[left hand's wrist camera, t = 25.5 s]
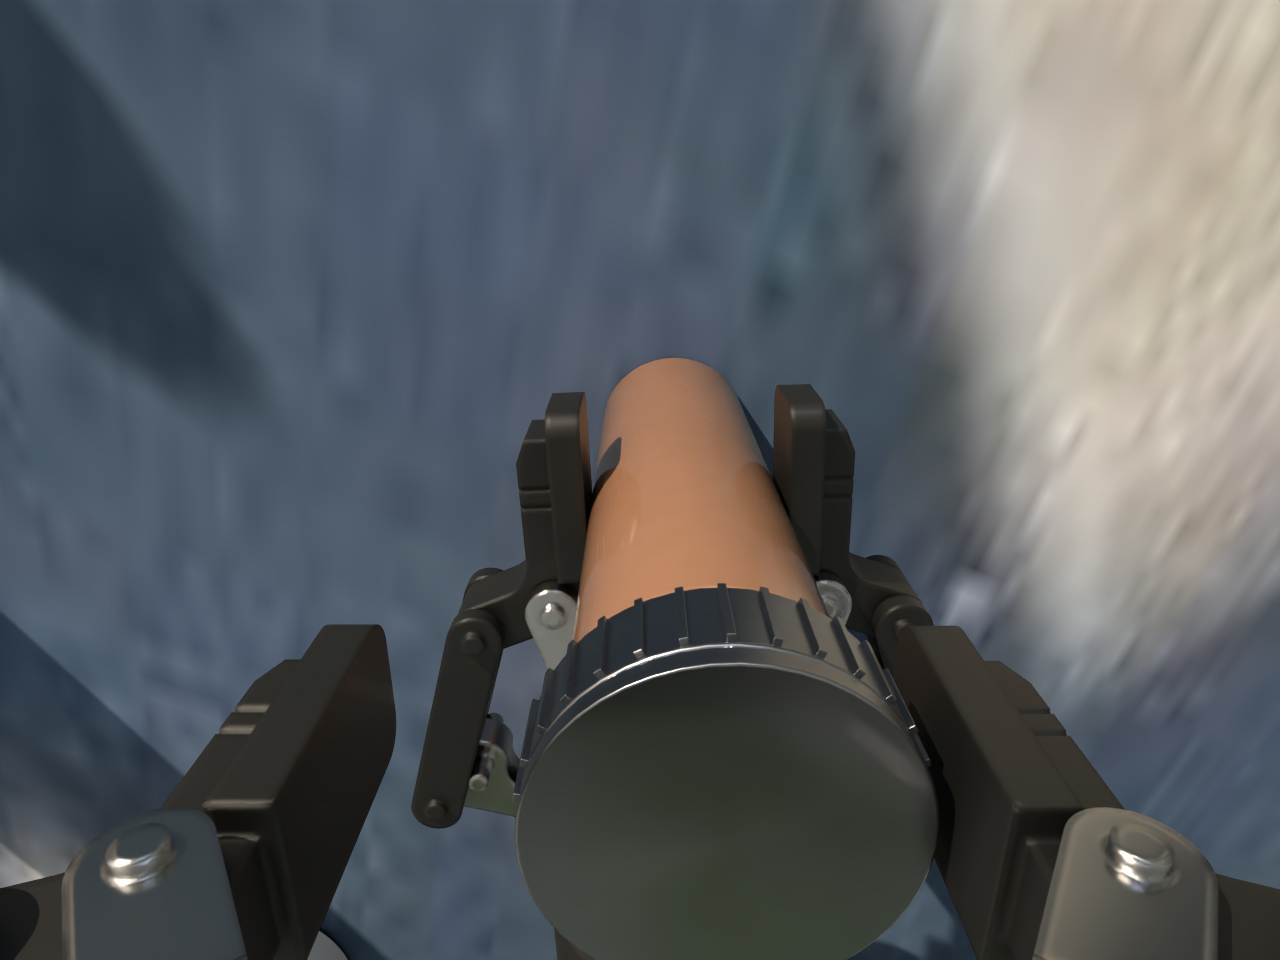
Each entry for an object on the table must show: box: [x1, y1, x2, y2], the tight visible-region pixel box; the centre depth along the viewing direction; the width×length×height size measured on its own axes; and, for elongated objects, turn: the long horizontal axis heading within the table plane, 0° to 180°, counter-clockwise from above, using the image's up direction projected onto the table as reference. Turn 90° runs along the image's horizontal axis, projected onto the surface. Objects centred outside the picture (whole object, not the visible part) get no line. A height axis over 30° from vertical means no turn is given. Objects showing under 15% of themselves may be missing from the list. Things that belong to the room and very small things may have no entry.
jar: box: [572, 358, 831, 643], centre depth 17 cm, size 4×4×15 cm
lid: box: [513, 583, 939, 960], centre depth 10 cm, size 5×5×2 cm
